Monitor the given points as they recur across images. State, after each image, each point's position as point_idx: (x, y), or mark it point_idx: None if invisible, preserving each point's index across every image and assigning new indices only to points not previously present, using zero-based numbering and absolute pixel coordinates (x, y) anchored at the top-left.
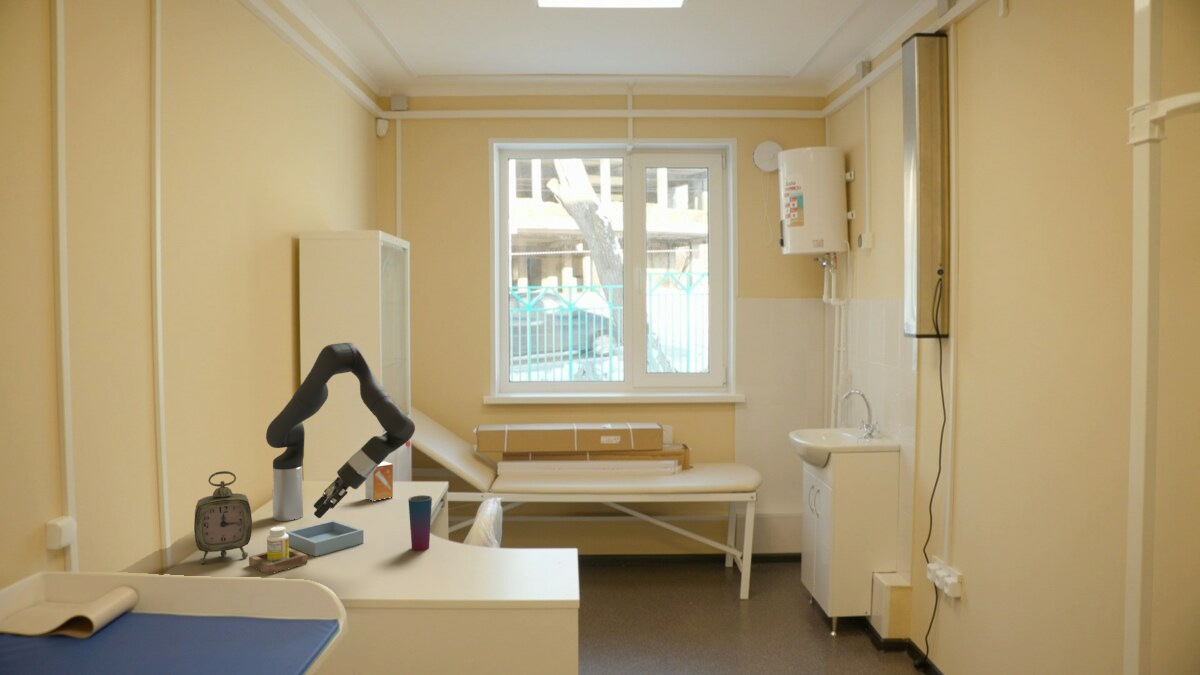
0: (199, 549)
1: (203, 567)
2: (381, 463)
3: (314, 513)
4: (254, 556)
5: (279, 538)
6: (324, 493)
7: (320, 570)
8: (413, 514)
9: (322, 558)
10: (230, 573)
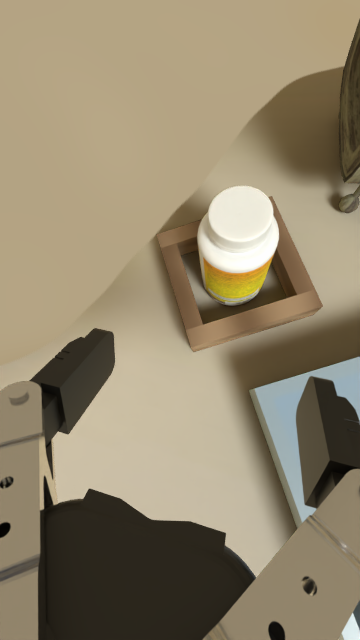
0: (344, 67)
1: (313, 123)
2: None
3: (96, 330)
4: None
5: (199, 232)
6: (348, 494)
7: (112, 371)
8: None
9: (219, 407)
10: (227, 172)
